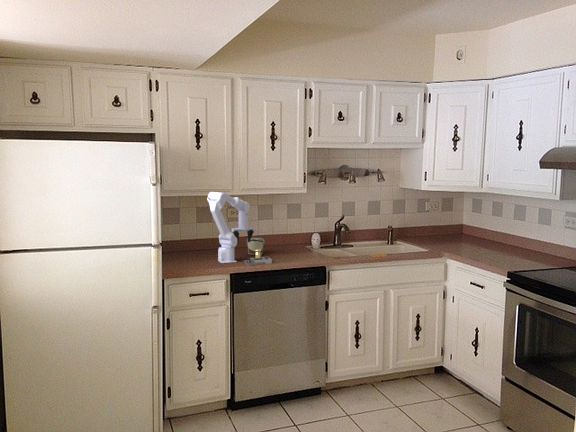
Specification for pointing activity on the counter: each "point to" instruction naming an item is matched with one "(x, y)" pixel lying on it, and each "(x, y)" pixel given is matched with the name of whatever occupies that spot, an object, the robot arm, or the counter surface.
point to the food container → (255, 245)
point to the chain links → (258, 261)
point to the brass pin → (257, 254)
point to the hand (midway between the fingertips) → (243, 242)
